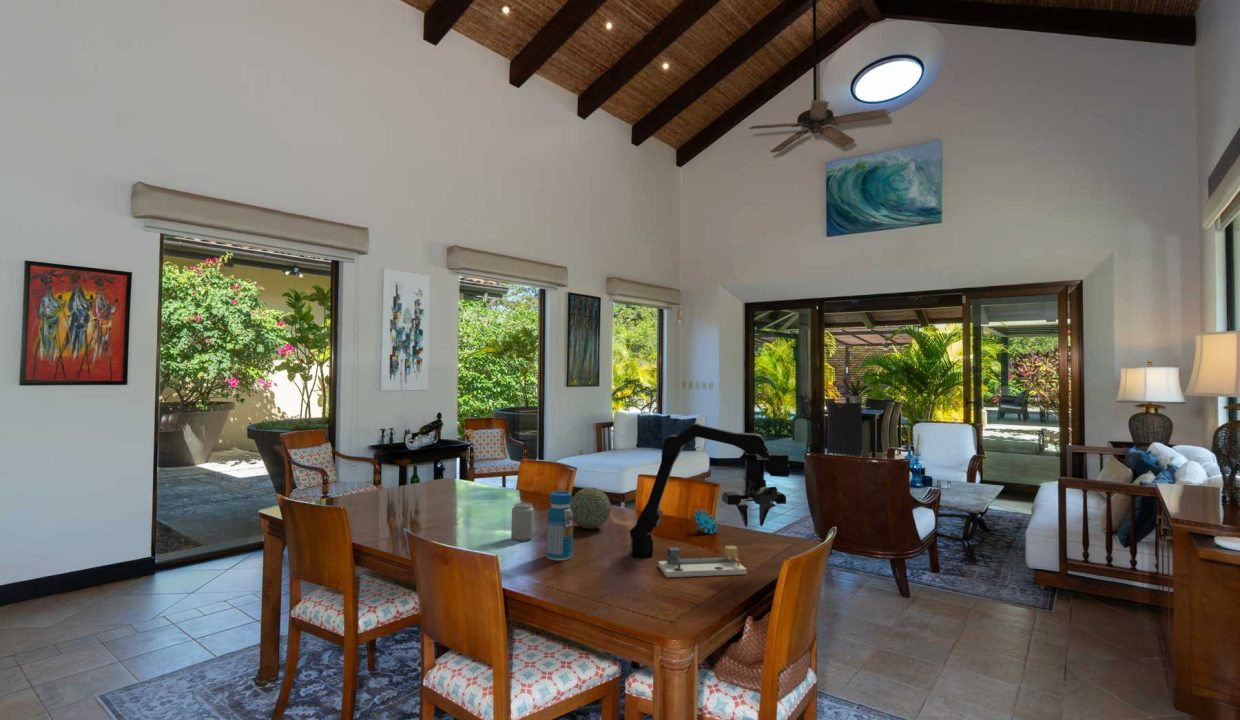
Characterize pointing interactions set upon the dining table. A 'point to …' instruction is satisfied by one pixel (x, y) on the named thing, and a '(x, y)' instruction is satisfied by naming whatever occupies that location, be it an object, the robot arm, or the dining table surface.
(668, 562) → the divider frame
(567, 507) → the beverage bottle
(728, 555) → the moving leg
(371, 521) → the dining table surface
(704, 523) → the gear
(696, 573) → the plate
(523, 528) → the can
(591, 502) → the decorative sphere
